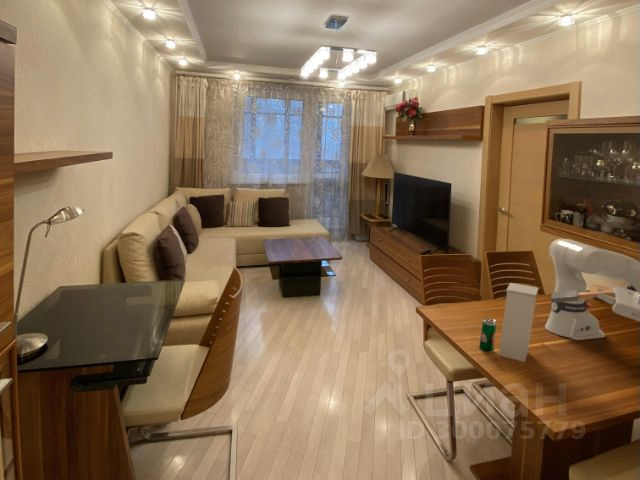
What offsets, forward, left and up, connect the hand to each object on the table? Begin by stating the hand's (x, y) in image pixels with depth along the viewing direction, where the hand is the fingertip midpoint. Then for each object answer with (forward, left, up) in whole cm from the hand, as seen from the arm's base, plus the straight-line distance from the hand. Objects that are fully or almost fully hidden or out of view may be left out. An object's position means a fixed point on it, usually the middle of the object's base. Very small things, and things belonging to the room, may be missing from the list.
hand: (597, 292), depth 142 cm
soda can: (+28, -16, -29) cm, 43 cm away
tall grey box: (+19, -13, -29) cm, 37 cm away
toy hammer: (+3, -2, -2) cm, 5 cm away
